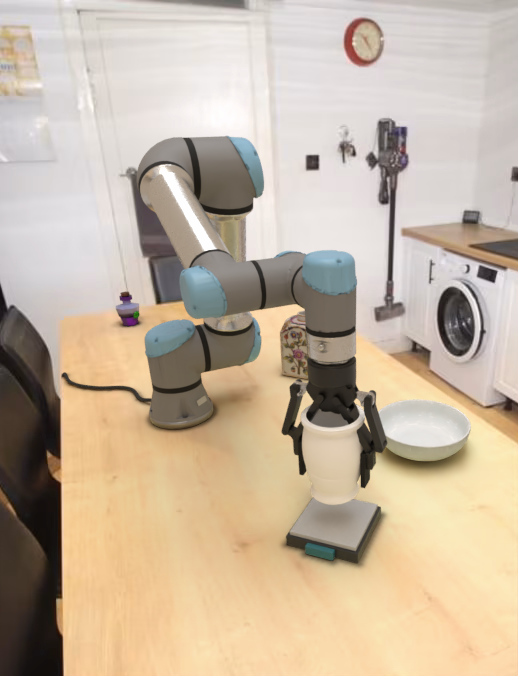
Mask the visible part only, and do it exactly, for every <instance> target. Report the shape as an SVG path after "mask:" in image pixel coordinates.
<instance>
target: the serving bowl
mask: <svg viewBox="0 0 518 676" xmlns="http://www.w3.org/2000/svg"><path fill="white" fill-rule="evenodd" d="M378 413H379V416H380V419H381V423H382V426H383V429H384V432H385V436H386V439H387V442H388V443H387V445H386V447H385V448H387V449H388V450H389V451H390V452H391V453H393V454H395V455H396V456H399V457H401V458H404V459H408V460H411V461H417V462H435V461H440V460H444V459H447V458H449V457H451V456H453V455H455V454H456V453H458V452H459V451H461V450H462V449H463V447H464V446H465V445H466V443H467V441H468V439H469V436H470V433H471V431H472V425H471V421H470V419H469V418H468V416H467V415H466V414H465V413H464V412H462V411H461V410H459V409H458V408H456V407H454V406H453V405H449V404H447V403H444V402H440V401H436V400H431V399H422V398H421V399H419V398H417V399H415V398H414V399H412V398H411V399H403V400H398V401H394V402H391V403H389V404H386V405H385V406H383V407H382V408H380V409H379V410H378Z"/></svg>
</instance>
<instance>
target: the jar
mask: <svg viewBox="0 0 518 676" xmlns="http://www.w3.org/2000/svg"><path fill="white" fill-rule="evenodd" d="M355 404H356V403H355ZM310 406H311V404H309V405H307V406H306V407H305V408H304V409H303V410H302V411H301V414H300V422H301V423H302V425H303V426H304V428H303V435H302V452H303V458H304V462H305V465H306V474H307V478H308V479H309V482H310V484H311V485H310V488H309V489H310V494H311V496H312V498H313V497H314V498H315V499H316V500H317V501H319V502H321V503H324V504H329V505H338V504H343V503H346V502H349V501H351V500H352V499H355V498H356V497H357V495H358V494H359V491H360V487H359V486H360V484H359V483H358V482H359V481H360V479H361V453H362V451H363V450H364V449H363V447H362V446H361V444H360V442H359V438H358V435H357V429H359V428H360V427H361V426H362V425H363V423H365V420H366V417H365V414H364V408H363V407H362V406H361V405H359V404H356V406H357V408H358V412H359V414H360V415H359V417H358V419H357V420H356V421H355V422H353V423H351V424H348V422H347V421H346V420H344V419H343V417H342V415H341V414H335V413H333V412H323V411H321V409H319V410H318V412H317V413H316V415H315V416H314V418H313V419H312V421H311V422H309V421H308V419H307V418H306V413H307V411H308V409H309V407H310Z"/></svg>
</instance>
